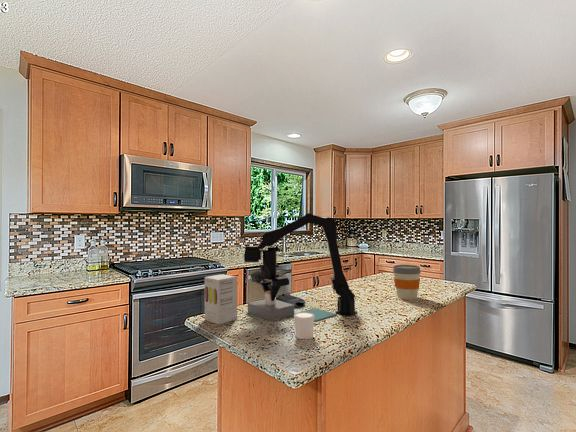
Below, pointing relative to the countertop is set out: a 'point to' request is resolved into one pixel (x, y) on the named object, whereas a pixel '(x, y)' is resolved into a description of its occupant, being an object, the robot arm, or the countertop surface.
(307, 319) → the white cylinder
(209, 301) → the supplement box
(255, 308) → the grey flat block
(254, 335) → the countertop surface
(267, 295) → the plug
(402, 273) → the reusable coffee cup
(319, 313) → the mat
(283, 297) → the electronic device
